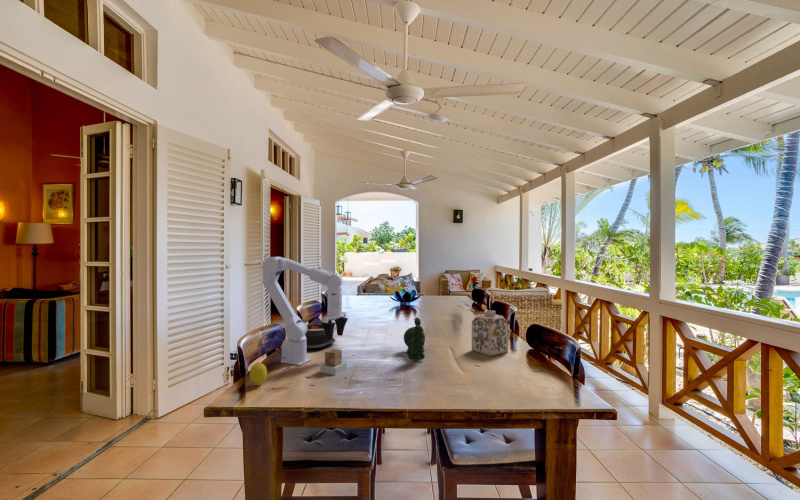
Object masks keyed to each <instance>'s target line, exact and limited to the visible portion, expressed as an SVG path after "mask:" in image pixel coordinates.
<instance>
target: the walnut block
mask: <svg viewBox="0 0 800 500" xmlns="http://www.w3.org/2000/svg"><path fill="white" fill-rule="evenodd" d="M342 351H343V350H342V349H335V348H331V349H328V350H326V351H325V352H324V364H325V365H326V366H334V367H336V366H338V365H339V364H341V363H342V362H343V353H342Z"/></svg>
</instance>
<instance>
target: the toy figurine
mask: <svg viewBox="0 0 800 500" xmlns="http://www.w3.org/2000/svg"><path fill="white" fill-rule="evenodd" d="M421 322H422V321H421V319H420V318H419V317H415V318H414V326H411V327H409V328H408V329H406V331H405V332H404V333H403V341H404V344H405V346H406V347H407V349H406V353H407V356H408V358H409V359H412V360H416V358H419V359H421V360H422V359H423V360H424V359H425V348H424V346H425V342H426V334H425V332H424V329H423V326H422V325H421V324H422V323H421Z"/></svg>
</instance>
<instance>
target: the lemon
mask: <svg viewBox="0 0 800 500" xmlns="http://www.w3.org/2000/svg"><path fill="white" fill-rule="evenodd" d="M267 377H268V369H267V366H266V365H265V364H263V362H259V361H257V362H256V363H255V364H253V365H252V366H251V367H250V370H249V380H250V382H251V383H252V384H253V385H256V386H258V387H259V386H261V385H262V384H264V383H265V381H266V380H267Z"/></svg>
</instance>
